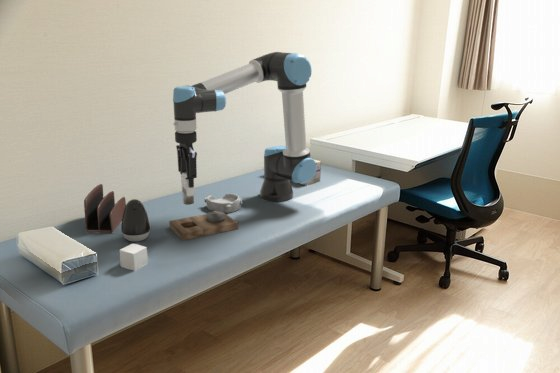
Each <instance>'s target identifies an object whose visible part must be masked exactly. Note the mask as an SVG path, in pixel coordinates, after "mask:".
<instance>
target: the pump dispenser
mask: <svg viewBox="0 0 560 373" xmlns="http://www.w3.org/2000/svg"><path fill="white" fill-rule="evenodd" d="M151 229H152V228H151V222H150V218H149V215H148V212H147V210H146V207H145V205H144V204H143V203H142V201H141V200H139V199H136V198H133V199H130V200H129V201H127V202H126V206H125V209H124V212H123V217H122V221H121V222H120V231H121V233H122V235H123V238H125V239H126V240H127V241H129V242H132V243H137V242H142V241H145V239H147V238H148V237H149V234H150V231H151Z"/></svg>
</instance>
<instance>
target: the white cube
mask: <svg viewBox="0 0 560 373" xmlns="http://www.w3.org/2000/svg"><path fill="white" fill-rule="evenodd" d="M147 248H148V247H147V246H144V245H140V244H136V243H134V242H132V243H130V244H129V245H126V246H125V247H123V248H120V249H119V260H120V267H121V268H124V269H126V270H130V271H134V272H135V271H138V270H139V269H141V268H143V267H144V266H146V265H148V264H149V262H148V259H149V258H148V249H147Z"/></svg>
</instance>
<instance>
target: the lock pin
mask: <svg viewBox="0 0 560 373" xmlns="http://www.w3.org/2000/svg"><path fill="white" fill-rule="evenodd" d="M185 178H187V172H182V183H181V193H182V192H183V193H182V204H183V205H186V206H187V205H188V206H189V205H193V204H194V203H195V199H194V198H195V194H194V195H192V196H187V190H186V179H185Z"/></svg>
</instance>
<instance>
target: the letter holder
mask: <svg viewBox="0 0 560 373" xmlns="http://www.w3.org/2000/svg"><path fill="white" fill-rule="evenodd" d="M103 186H104V184H103V183H99V184H98V185H96V186H95V187H93V189H91V191H90V192H88V194H87V196H85V198H84V201H83V210H84V211H83V212H84V222H85V223H84V224H85V233H87V234H88V233H89V234H90V233H93V234H105V233H106V234H113V233H114V232H115V230H116V229H117V228H118V226H119V225H121V223H122V217H123V212H124V209H125V206H126V204H127V202H126V197H125V196H122V197H121V198H120V199H119V200H118V201H117V202H116V203H115V200H116V199H115V192H114V190H112V191H109V192H108V193H107V194H106V195H104V187H103Z"/></svg>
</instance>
